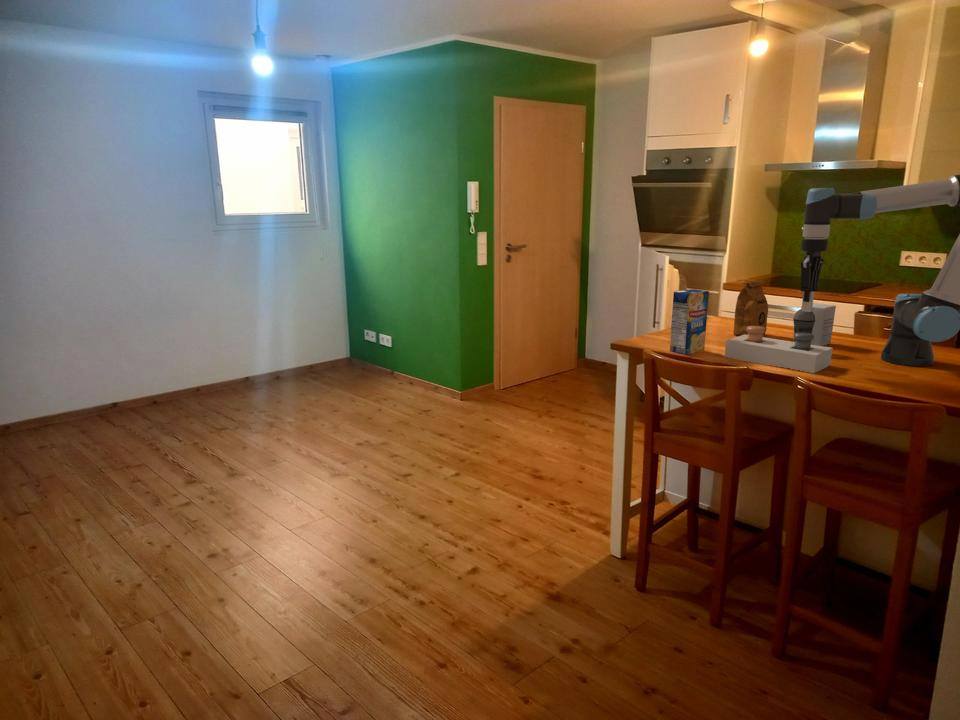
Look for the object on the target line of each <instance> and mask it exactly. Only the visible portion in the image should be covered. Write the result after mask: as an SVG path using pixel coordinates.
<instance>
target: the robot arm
mask: <svg viewBox="0 0 960 720" xmlns="http://www.w3.org/2000/svg"><path fill="white" fill-rule="evenodd" d="M940 205H941V206H942V205H948V206H949V207H958V206H959V207H960V174H955V175H954V174H953V175H949V177H948V178H947V179H941V180H935V181H929V182H928V181H927V182H921V183H920V182H919V183H914V184H906V185H905V184H904V185H897V186H892V187H885V188H876V189H870V190H861V191H857V192H855V191H854V192H849V193H847V192H846V193H838V194H837V193H836V192H835V189H834V188H833V187H817V188H816V187H815V188H814V187H812V188H810V189H808V191H807V196H806V202H805V208H804V209H805V212H804V221H803V226H802V227H801V230H802V237H804V238H802V239H801V243H800V244H801V246H800V250H801V251H803V252H805V255H804V258H803V260H801V261H800V270H801V273H800V292H803V293H802V294H803V295H802V301H801V306H802V309H801V308H800V309H801V311H804V312H812V306H813V303H814V296H815V292H818V290H819V289H818V287H819V284H820V283H819V282H820V281H819V280H820V277H821V273H822V268H823V264H824V262H825V260H824V258H822V252H826V251H827V250H828V247H829V246H828V245H829V239H828V238H829V237H830V230H831V221H832V220H861V221H862V220H869V219H872V218H873V217H874V216H875V214H879V213H886V212H887V213H888V212H893V211H902V210H911V209H917V208H926V207H934V206H940ZM893 305H894V307H893V313H892V314H893V315H892V321H891V329H890V335H889V338H888V340H887V342H886V343H885V345H884V347H883V349H882V351H881V355H880V359H881V360H883V361H885V362H887V363H891V364H896V365H901V366H908V367H909V366H911V367H931V366H933V365H934V363H935V354H934V350H933V349H934V348H933V345H932V343H939V342H945V341H947V340H950V339H951V338H953V337H954V336H956V334H957V333H958V332H959V331H960V233H959V234H958V236H957V238H956V240H955V242H954V244H953V245H952V248H951V250H950V251H949V253H948V255H947V257H946V260H945V261H944V263H943V265H942V267H941V269H940V271H939V273H938V275H937V277H936V278H935V281H934V283H933V284H932V286H931V288H930V289H927V290H924V291H923V292H922V293H899V294H898V295H896V298H895V301H894V303H893Z"/></svg>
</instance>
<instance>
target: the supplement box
mask: <svg viewBox="0 0 960 720" xmlns="http://www.w3.org/2000/svg"><path fill="white" fill-rule="evenodd" d="M800 309H802V305H801V308H800ZM836 309H837V306H836V305H834V304H826V303H818V302H813V306H812V312H813V313H814V315H815V320H816V321H815V324H814V326H813V330H812V334H813V335H814V339H813V340H811V345H817V346H823V347H825V346H828V345H827V344H829V345H831V344H832V336H833V328H834V321H835V315H836ZM830 343H831V344H830ZM824 345H825V346H824Z"/></svg>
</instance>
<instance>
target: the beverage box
mask: <svg viewBox="0 0 960 720" xmlns="http://www.w3.org/2000/svg"><path fill="white" fill-rule="evenodd" d="M709 295H710V291H709V290H704V289H696V288H695V289H694V288H692V289H684V290H682V289H681V290H675V291H673V298H672V309H671V310H672V312H671V324H670V325H671V326H670V327H671V328H670V339H669V340H670V341H669V342H670V344H669V352H670V353H675V354H678V355H683V356H687V355H691V354H690V353H692V354H696V353H695V352H697V353H700V352H699V351H701V352H705V347H706V334H707V333H706V332H707V322H708V321H707V319H708V318H707V317H708V310H709V309H708V308H709ZM686 354H687V355H686Z"/></svg>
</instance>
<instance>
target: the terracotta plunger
mask: <svg viewBox="0 0 960 720" xmlns="http://www.w3.org/2000/svg"><path fill="white" fill-rule="evenodd" d="M746 331H747V332H748V339H747V341H748V342H755V343H762V339H763V337H764V335H763V333H765V334H766V332H765V327H761V326H747V330H746Z"/></svg>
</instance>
